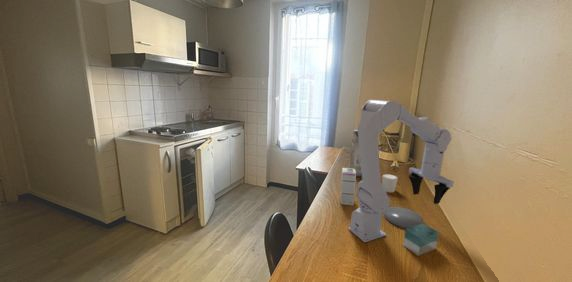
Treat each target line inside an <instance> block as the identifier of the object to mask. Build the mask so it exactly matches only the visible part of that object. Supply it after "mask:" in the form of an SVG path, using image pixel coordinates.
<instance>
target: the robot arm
mask: <svg viewBox="0 0 572 282" xmlns="http://www.w3.org/2000/svg"><path fill="white" fill-rule="evenodd" d="M360 114H361V115H360V118H359V123H358V126H357V129H358V139H359V150H360V161H361V171H362V177H361V180H360V181H359V182H358V183H357V189H356V192H355V197H356V198H357V199H358V204H359V206H358V207H357V209H355V210H353V211H352V212H351V216H350V226H349V227H348V230H349V231H351V233H352V234H354V235H355V236H356V237H358V238H359V239H360V240H361V241H363V243H367V242H370V241H373V240H376V239H379V238H383V237H385V236H387V234H386V232H384V231H383V230H382V221H383V214H384V212H385V211H386V210H387V209H388V208H389V207H390V203H391V202H390V201H391V200H390V197H389V196H388V192H386V189H385V187H384V186H383V184H382V180H381V179H382V177H381V167H380V166H381V165H380V164H381V163H380V150H379V139H378V138H379V137H378V135H379V134H380V132H382V131H383V130H385V129H386V128H388V127H389V126H391V125H392V124H394V123H395V122H396V121H399V122H401V123H403V124H404V125H406V126H408V127H410V131H411V133H413V134H415V135H416V136H418V137H419V138H421V139H422V141H423V143H425V144H424V150H423V155H422V160H421V161H422V163H421V168H420V169H419V168H415V167H409V168H408V174H410V175H408V179H409V180H410V183H411V187H412V193H413V195H414V196H416V195H419V193H420V190H421V184H422V181H423V179H426V180H429V181H432V182H434V183H436V184H434V196H433V197H434V198H433V204H434V205H438V204H440V203H441V200H442V198H443V196H444V195H446V193H447V192H448V191H449V190H450V189H451V188H453V187H454V183H455V182H454V181H453V180H452V179H451V180H450V179H448V178H447V177H445V176H443V175H441V171H442V167H443V165H442V164H443V159H444V154H445V152H446V151H447V149H448V146H449V145H450V143H451V141H452V139H453V138H452V136H451V133H450V131H449V130H448V129H446V128H445V129H444V128H441V127H440V125H439V124H437V123H433V122H432V121H430V120H431V119H430V117H427V116H424V117H422V116H421V117H417V116H416V115H415V114H413V113H412V112H410V110H408V109H407V108H405V107H404V105H403V104H401V103H398V101H395V100H381V99H380V100H379V99H374V98H373V99H369V100H367V101H366V102H365V103H364V105H363V106H362V107H361V108H360Z"/></svg>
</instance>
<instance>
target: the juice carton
mask: <svg viewBox="0 0 572 282" xmlns="http://www.w3.org/2000/svg"><path fill="white" fill-rule="evenodd" d="M352 132H353V133H352V135H351V136H352V137H351V147H350V159H349V160H350V162H349V168H353V169H355V171H356V177H361V178H362V171H361V161H360V150H359V139H358V128H353V131H352Z"/></svg>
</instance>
